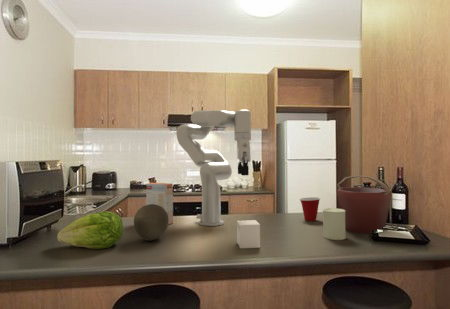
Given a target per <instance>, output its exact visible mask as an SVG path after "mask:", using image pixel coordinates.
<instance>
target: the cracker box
mask: <svg viewBox="0 0 450 309" xmlns="http://www.w3.org/2000/svg"><path fill="white" fill-rule="evenodd" d="M145 185H146V187H145V190H146V191H145V192H146V194H145V198H146V200H145V201H146V204H145V206H146V205H150V204H156V205H159V206H161V207H163V208H164V209H165V211H166V212H167V214H168V219H169V223H168V226H169V225H172V224H173V223H174V203H173V202H174V200H173V199H174V198H173V197H174V195H173V194H174V189H173V188H174V187H173V186H174V184H173V183H166V182H165V183H163V182H147V183H145Z"/></svg>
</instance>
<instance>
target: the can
mask: <svg viewBox="0 0 450 309" xmlns="http://www.w3.org/2000/svg"><path fill="white" fill-rule="evenodd" d="M322 218H323V219H322V220H323V224H322V225H323V228H322V230H323V232H322V237H323V238H325V239H327V240H335V241H343V240H345V239H346V238H347V236H346V230H345V210H343V209H340V208H335V207H330V208H329V207H327V208H323V209H322Z"/></svg>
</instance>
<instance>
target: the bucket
mask: <svg viewBox="0 0 450 309" xmlns="http://www.w3.org/2000/svg"><path fill="white" fill-rule="evenodd" d="M354 178H364V179H369V180H370V181H373V182H375V183H377V184H378V185H380V187H382V188H377V187H361V186H360V187H359V186H358V187H341V186H340V185H343V184H346V182H348V181H349V179H354ZM336 187H337V190H336V192H337V193H336V194H337V196H336V198H337V201H338V202H337V203H338V206H339V209H343V210H345V231H348V232H352V233H354V234H361V235H363V234H364V235H371V234H370V232H371V231H372V230H377V229H380V228H383V227H385V228H386V224H387V219H388V216H389V211H390V206H391V205H390V204H391V201H392V191H391V189H390V188H389V187H388V185H387V184H386V183H384V182H382V181H381V179H378V178H376V177H374V176H373V177H372V176H369V175H353V176H346V177H344V178H343V179H342V180H341V181H339V182H338V183H337V186H336Z"/></svg>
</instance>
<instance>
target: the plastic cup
mask: <svg viewBox="0 0 450 309" xmlns="http://www.w3.org/2000/svg"><path fill="white" fill-rule="evenodd" d="M320 200H321V198H320V197H302V198H299V201H300V204H301V206H302V207H301V208H302V213H303V217H304V221H307V222H315V221H317V217H318V212H319V204H320Z"/></svg>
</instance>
